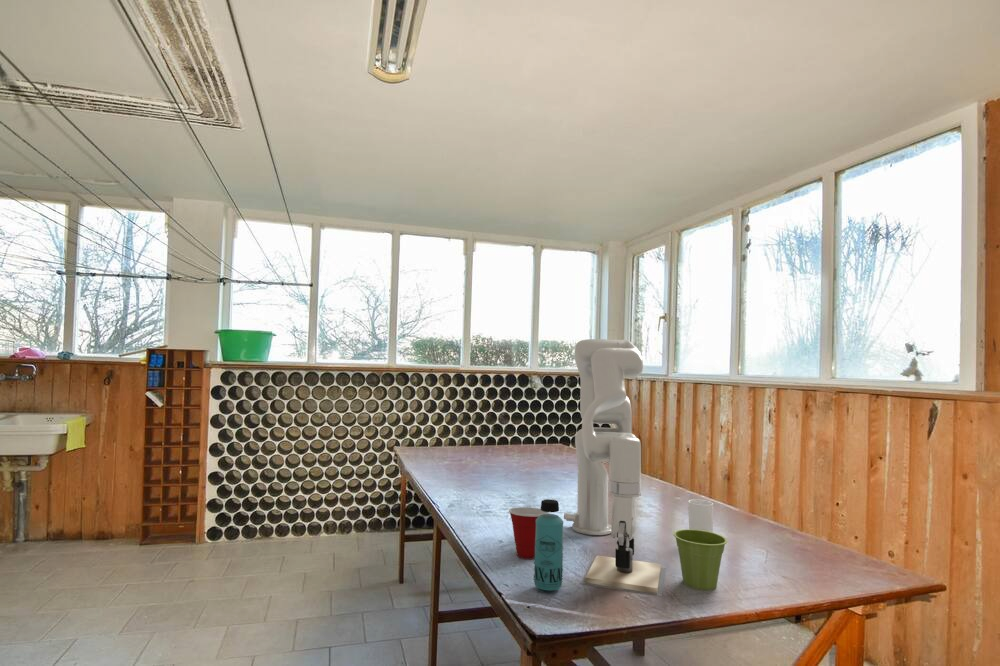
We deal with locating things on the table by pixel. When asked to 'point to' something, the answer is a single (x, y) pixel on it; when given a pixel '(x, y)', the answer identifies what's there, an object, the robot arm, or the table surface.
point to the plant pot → (700, 557)
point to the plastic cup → (525, 530)
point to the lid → (625, 574)
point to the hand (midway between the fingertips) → (625, 560)
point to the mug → (700, 515)
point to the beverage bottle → (548, 548)
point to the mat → (660, 589)
